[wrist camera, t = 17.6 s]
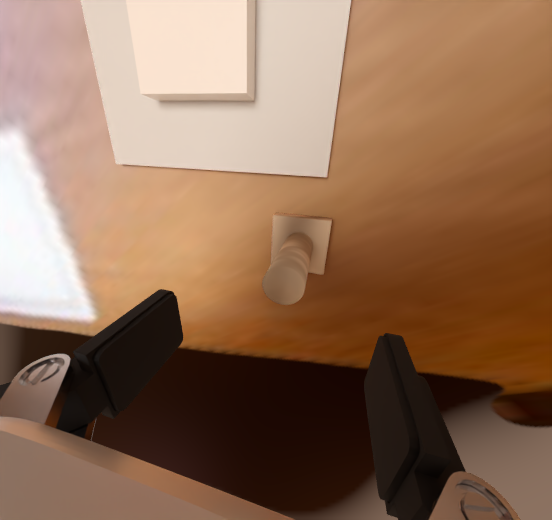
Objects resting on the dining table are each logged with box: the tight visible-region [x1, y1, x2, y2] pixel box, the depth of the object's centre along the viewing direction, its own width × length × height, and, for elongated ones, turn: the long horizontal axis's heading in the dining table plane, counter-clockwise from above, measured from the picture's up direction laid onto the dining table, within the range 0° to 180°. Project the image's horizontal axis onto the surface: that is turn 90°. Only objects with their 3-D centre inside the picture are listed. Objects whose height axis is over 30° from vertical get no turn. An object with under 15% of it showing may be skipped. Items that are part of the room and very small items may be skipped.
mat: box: [81, 0, 351, 177], centre depth 19 cm, size 24×20×1 cm
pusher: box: [262, 213, 332, 305], centre depth 20 cm, size 6×6×10 cm
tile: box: [126, 0, 256, 101], centre depth 18 cm, size 2×8×10 cm
